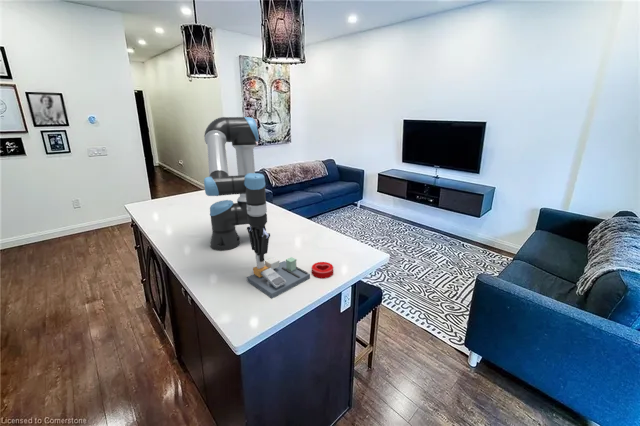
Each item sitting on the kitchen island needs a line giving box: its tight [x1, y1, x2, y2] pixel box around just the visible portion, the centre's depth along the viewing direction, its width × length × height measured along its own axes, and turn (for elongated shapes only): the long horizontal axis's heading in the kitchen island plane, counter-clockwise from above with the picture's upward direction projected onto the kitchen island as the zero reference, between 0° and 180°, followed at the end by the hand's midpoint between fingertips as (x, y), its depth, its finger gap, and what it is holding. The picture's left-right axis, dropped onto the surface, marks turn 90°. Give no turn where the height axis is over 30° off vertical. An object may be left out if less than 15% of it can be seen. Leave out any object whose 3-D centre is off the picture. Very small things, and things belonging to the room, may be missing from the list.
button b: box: [264, 257, 280, 269], centre depth 126 cm, size 4×4×3 cm
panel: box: [246, 260, 311, 299], centre depth 123 cm, size 17×20×4 cm
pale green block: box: [285, 256, 297, 271], centre depth 127 cm, size 3×3×5 cm
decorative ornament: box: [311, 261, 335, 279], centre depth 129 cm, size 10×10×3 cm
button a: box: [252, 265, 268, 277], centre depth 123 cm, size 4×4×3 cm
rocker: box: [261, 268, 286, 288], centre depth 117 cm, size 10×5×1 cm, turn 46°
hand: (260, 267), depth 122 cm, fingers closed
